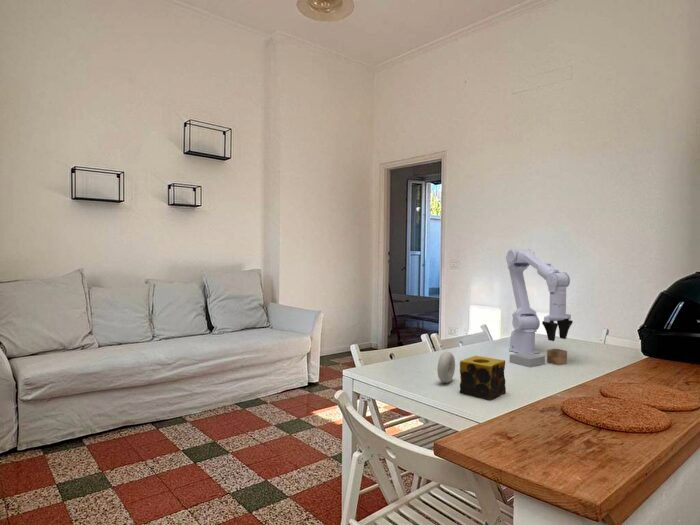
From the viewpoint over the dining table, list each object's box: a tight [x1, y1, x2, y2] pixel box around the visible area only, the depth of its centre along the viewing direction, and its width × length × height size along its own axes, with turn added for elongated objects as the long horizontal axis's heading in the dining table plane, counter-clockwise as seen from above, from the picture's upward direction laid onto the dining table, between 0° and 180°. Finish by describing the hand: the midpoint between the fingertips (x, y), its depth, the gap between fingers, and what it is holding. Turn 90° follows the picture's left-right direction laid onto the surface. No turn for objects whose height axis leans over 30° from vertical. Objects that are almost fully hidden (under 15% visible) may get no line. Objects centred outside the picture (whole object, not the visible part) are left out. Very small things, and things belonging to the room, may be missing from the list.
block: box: [546, 348, 568, 366], centre depth 175 cm, size 5×5×5 cm
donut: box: [436, 351, 456, 384], centre depth 148 cm, size 10×4×10 cm, turn 148°
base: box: [509, 352, 546, 368], centre depth 174 cm, size 9×9×3 cm
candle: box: [459, 355, 507, 401], centre depth 137 cm, size 10×10×10 cm
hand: (557, 339), depth 175 cm, fingers open, 7 cm apart
